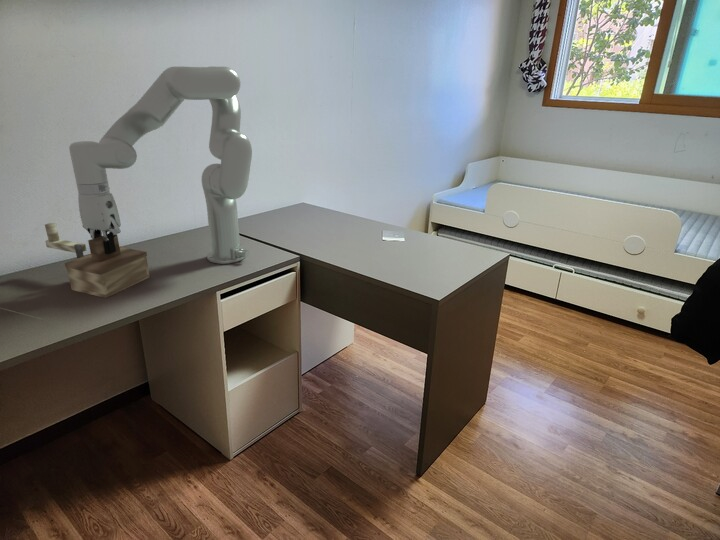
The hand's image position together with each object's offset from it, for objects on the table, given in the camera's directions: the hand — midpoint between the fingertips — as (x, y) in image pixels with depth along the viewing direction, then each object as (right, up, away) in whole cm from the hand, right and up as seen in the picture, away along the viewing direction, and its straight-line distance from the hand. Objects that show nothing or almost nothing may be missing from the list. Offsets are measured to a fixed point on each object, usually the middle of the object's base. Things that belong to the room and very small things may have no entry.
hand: (105, 251), depth 134 cm
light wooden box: (-1, -9, +4) cm, 10 cm away
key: (-15, +1, +6) cm, 16 cm away
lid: (0, -3, +1) cm, 3 cm away
